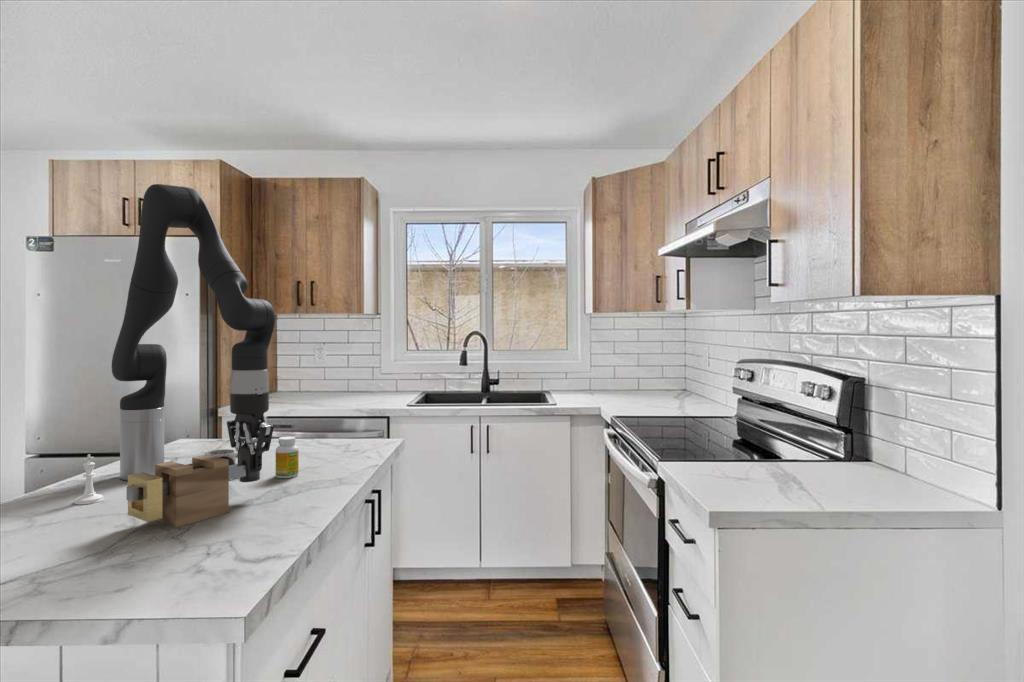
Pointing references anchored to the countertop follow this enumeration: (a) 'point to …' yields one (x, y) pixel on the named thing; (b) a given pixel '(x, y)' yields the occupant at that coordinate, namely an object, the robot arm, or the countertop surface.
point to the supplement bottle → (287, 458)
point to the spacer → (146, 497)
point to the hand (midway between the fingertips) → (249, 469)
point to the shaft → (235, 471)
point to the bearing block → (194, 490)
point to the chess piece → (89, 485)
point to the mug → (224, 455)
